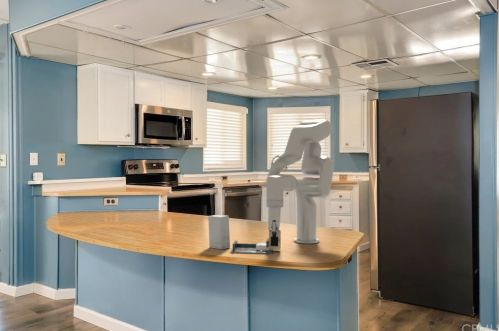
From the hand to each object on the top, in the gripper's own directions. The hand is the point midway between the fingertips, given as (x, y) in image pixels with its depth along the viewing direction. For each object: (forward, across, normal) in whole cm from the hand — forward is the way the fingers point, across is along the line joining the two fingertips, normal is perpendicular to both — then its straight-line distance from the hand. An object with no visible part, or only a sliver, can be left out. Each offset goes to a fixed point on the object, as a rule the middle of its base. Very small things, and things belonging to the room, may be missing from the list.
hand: (274, 244), depth 188 cm
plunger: (+2, +1, -5) cm, 6 cm away
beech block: (+2, 0, 0) cm, 2 cm away
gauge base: (+3, 0, -11) cm, 11 cm away
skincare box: (+3, -4, -26) cm, 26 cm away
